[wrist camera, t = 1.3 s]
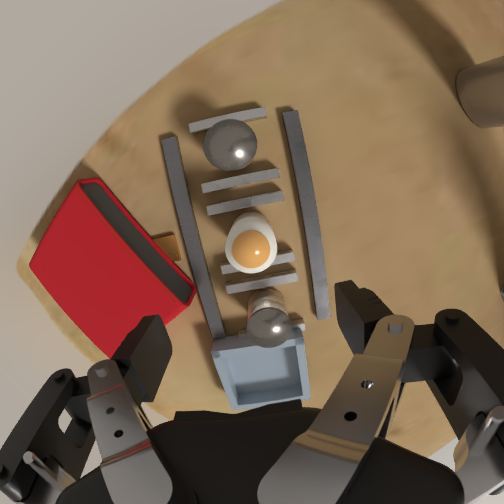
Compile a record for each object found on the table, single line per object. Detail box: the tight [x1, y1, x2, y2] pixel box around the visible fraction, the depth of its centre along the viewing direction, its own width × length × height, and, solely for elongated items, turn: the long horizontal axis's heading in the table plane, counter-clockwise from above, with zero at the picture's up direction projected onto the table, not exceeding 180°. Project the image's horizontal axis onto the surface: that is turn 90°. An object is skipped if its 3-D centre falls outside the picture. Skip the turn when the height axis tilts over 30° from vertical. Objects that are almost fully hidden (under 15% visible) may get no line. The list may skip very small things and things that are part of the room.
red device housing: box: [29, 177, 197, 359], centre depth 29 cm, size 18×14×5 cm
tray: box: [211, 329, 311, 410], centre depth 34 cm, size 11×11×3 cm
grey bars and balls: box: [152, 107, 330, 348], centre depth 27 cm, size 19×26×6 cm
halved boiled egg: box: [225, 211, 277, 273], centre depth 27 cm, size 4×4×7 cm
